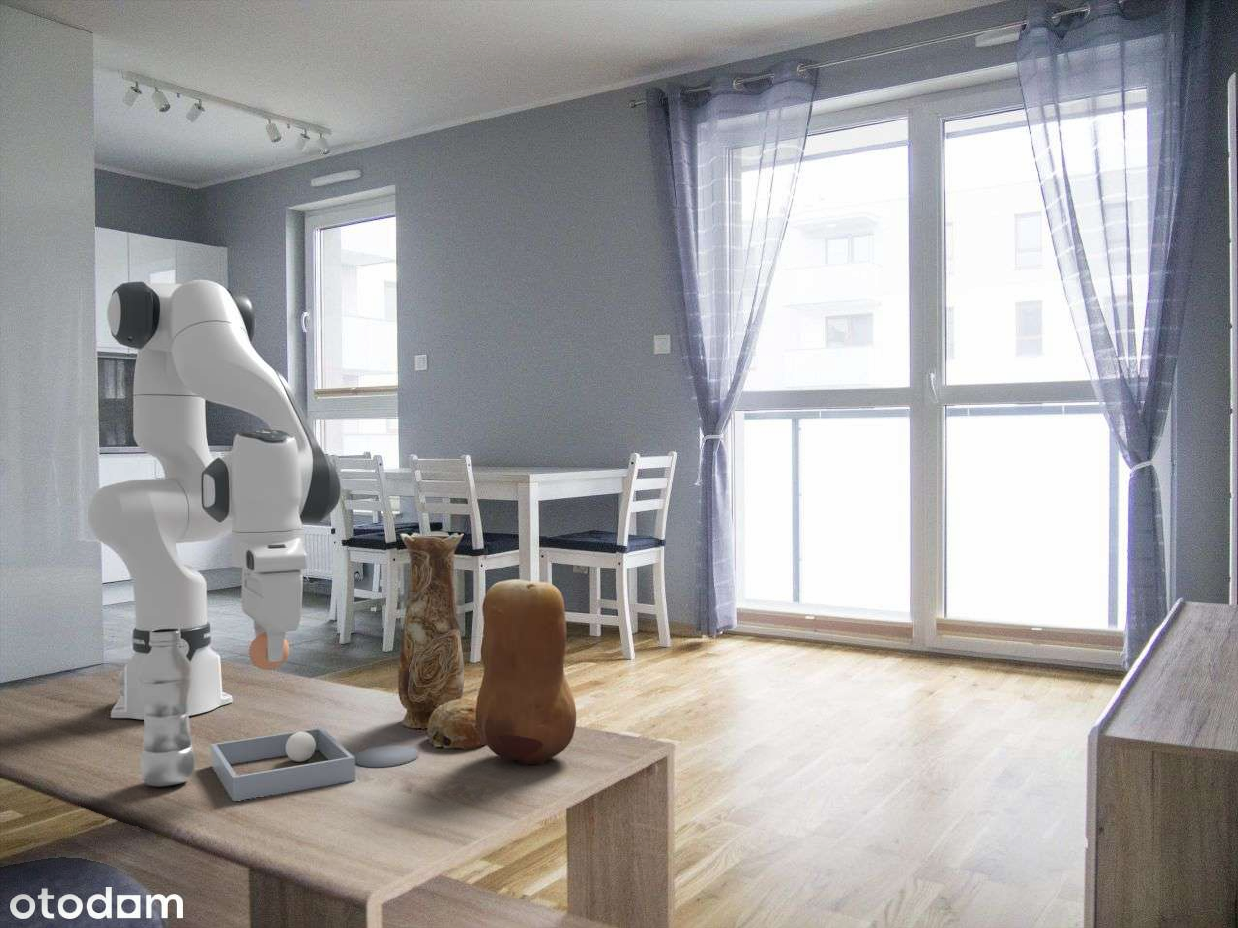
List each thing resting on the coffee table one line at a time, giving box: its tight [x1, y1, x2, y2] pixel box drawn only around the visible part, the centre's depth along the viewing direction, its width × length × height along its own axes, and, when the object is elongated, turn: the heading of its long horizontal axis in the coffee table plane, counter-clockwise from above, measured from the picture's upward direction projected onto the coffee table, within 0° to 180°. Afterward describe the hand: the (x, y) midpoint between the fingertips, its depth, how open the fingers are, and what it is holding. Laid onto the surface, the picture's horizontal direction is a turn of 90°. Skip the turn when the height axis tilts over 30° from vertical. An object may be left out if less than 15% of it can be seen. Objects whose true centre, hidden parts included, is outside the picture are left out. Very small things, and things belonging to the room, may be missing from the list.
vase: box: [397, 530, 465, 730], centre depth 157 cm, size 10×11×30 cm
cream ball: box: [286, 732, 316, 763], centre depth 138 cm, size 4×4×4 cm
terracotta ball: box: [248, 632, 290, 671], centre depth 131 cm, size 5×5×5 cm
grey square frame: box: [210, 727, 356, 802], centre depth 132 cm, size 17×15×3 cm
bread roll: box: [426, 697, 486, 749], centre depth 147 cm, size 10×10×8 cm
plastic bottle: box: [138, 628, 196, 787], centre depth 129 cm, size 6×7×20 cm
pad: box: [353, 745, 420, 768], centre depth 139 cm, size 9×9×1 cm
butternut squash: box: [475, 578, 577, 766], centre depth 137 cm, size 14×13×25 cm
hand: (269, 656), depth 131 cm, fingers closed on terracotta ball, 5 cm apart
